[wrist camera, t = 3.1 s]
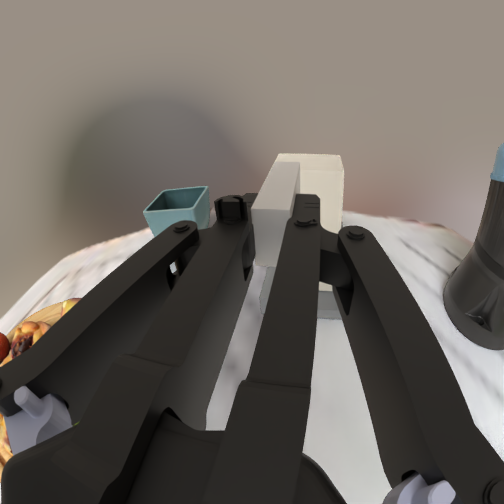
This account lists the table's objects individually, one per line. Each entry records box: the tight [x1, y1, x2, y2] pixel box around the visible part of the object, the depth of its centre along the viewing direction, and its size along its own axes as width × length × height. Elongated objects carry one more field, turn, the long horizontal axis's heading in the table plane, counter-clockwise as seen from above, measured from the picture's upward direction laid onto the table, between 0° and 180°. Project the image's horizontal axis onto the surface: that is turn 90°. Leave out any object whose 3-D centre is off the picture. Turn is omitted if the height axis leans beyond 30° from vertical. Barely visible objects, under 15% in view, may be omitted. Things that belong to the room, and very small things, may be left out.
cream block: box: [275, 154, 344, 291], centre depth 32 cm, size 7×6×15 cm
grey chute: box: [259, 220, 343, 319], centre depth 41 cm, size 10×24×3 cm, turn 168°
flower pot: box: [143, 186, 210, 237], centre depth 45 cm, size 9×9×9 cm
